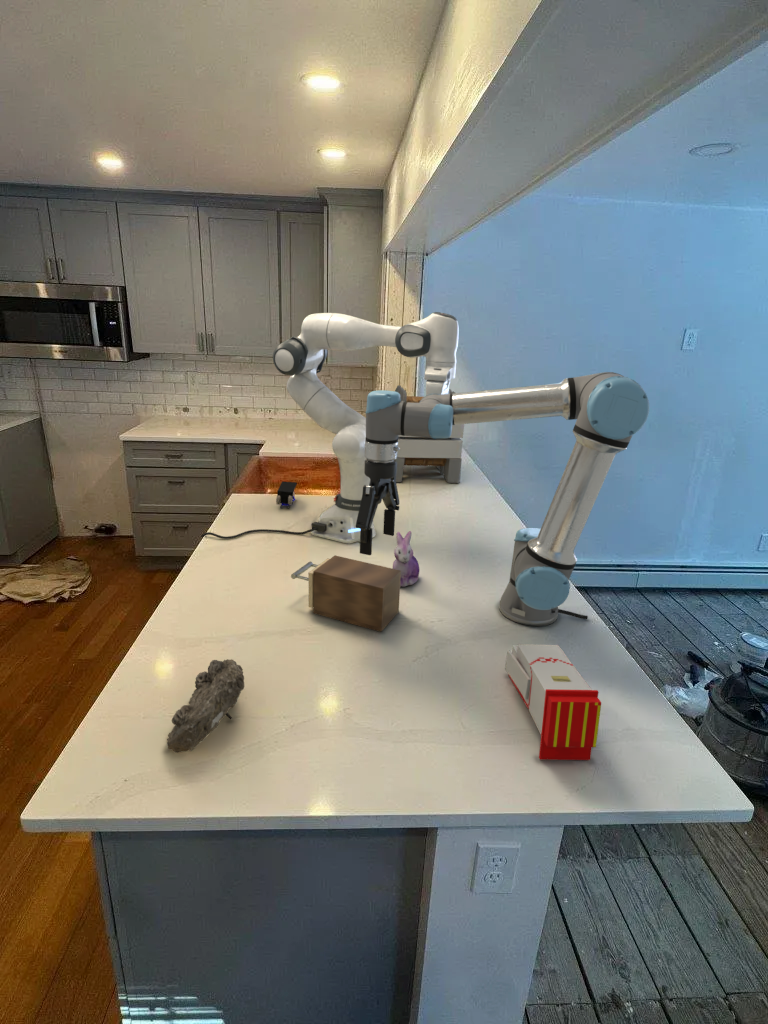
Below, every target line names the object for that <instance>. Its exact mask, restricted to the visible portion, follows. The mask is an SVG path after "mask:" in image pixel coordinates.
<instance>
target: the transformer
mask: <svg viewBox="0 0 768 1024" xmlns="http://www.w3.org/2000/svg"><path fill="white" fill-rule="evenodd" d="M394 391H395V392H398V393H399V394H400V399H401V401H404V402H411V403H419V402H420V400H421V399H422V398H423V397H424V396H415V395H414V396H413V395H412V396H411V395H407V394H408V393H407V390H406V389H404V388H403V387H402V385H399V384H398V385H397V386H396V388H395V390H394ZM453 393H456V392H455V391H453V390H452V389H451V388H449V394H453ZM464 429H465V424H458V425H452V432H451V436H450V437H449V438H446V439H445V438H437V439H433V438H425V437H414V436H402V435H398V447H399V451H397V458H396V459H395V460H396V461H397V474H396V483H402V482H403V475H404V469H405V466H406V467H407V466H411V467H412V466H413V467H415V466H416V467H417V466H418V467H436V468H437V470H438V469H439V473H440V474H441V475H443V478H444V479H445V481H446V482H447V483H449V484H455V483H456V484H459V483H461V472H462V461H463V460H462V453H463V442H464V441H463V440H462V439H463V438H464V431H465V430H464Z"/></svg>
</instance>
